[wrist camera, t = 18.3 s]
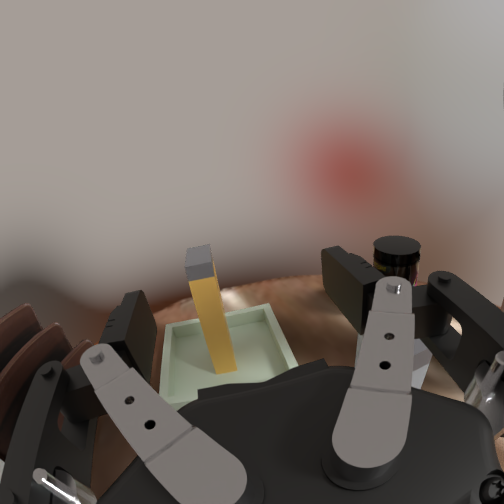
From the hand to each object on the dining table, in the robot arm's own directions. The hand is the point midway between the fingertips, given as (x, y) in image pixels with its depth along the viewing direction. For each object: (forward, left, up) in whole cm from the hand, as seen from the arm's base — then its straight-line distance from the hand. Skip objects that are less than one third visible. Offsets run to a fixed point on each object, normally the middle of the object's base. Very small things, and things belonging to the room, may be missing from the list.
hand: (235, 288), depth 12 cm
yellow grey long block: (-10, -13, -18) cm, 24 cm away
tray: (-10, -13, -19) cm, 25 cm away
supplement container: (-28, +4, -19) cm, 34 cm away
